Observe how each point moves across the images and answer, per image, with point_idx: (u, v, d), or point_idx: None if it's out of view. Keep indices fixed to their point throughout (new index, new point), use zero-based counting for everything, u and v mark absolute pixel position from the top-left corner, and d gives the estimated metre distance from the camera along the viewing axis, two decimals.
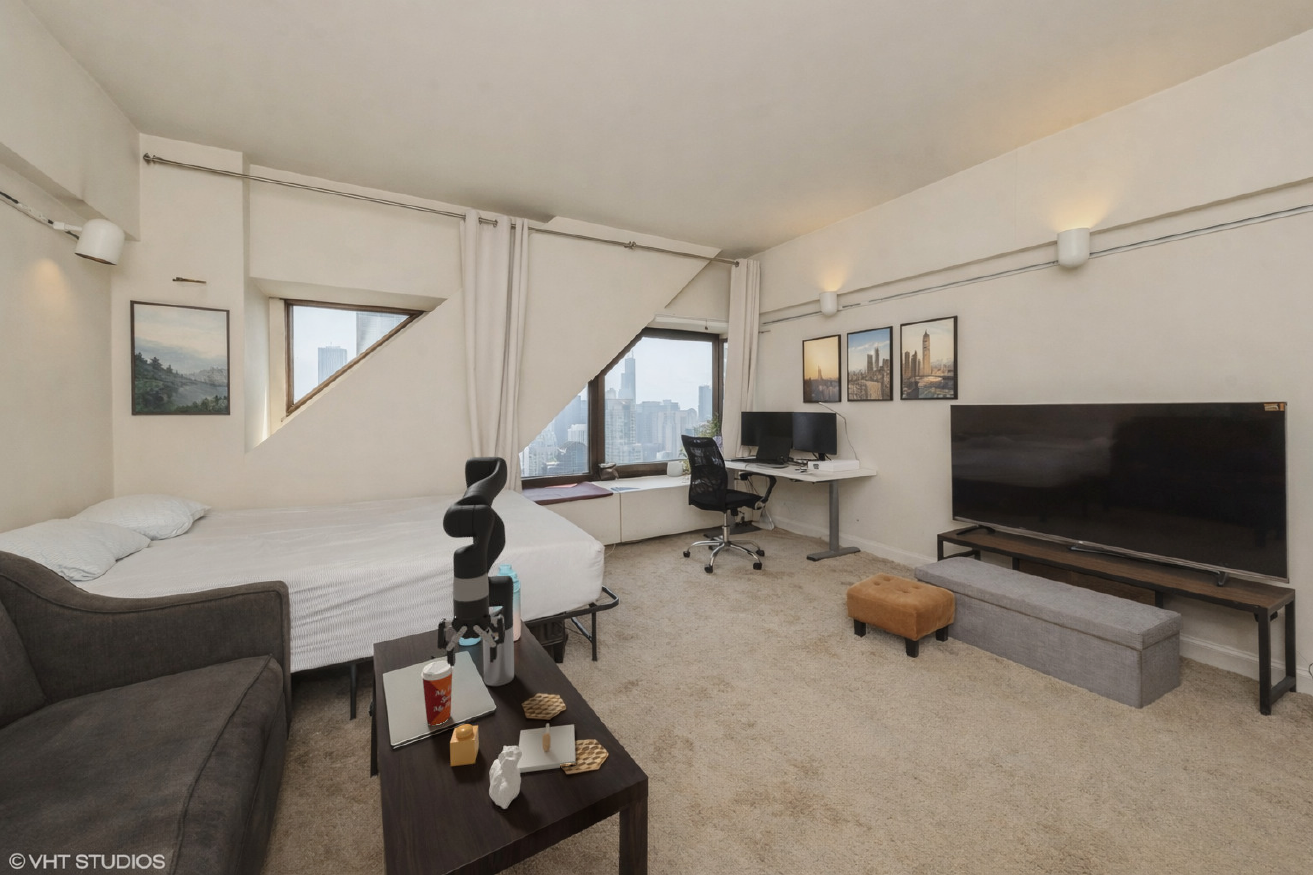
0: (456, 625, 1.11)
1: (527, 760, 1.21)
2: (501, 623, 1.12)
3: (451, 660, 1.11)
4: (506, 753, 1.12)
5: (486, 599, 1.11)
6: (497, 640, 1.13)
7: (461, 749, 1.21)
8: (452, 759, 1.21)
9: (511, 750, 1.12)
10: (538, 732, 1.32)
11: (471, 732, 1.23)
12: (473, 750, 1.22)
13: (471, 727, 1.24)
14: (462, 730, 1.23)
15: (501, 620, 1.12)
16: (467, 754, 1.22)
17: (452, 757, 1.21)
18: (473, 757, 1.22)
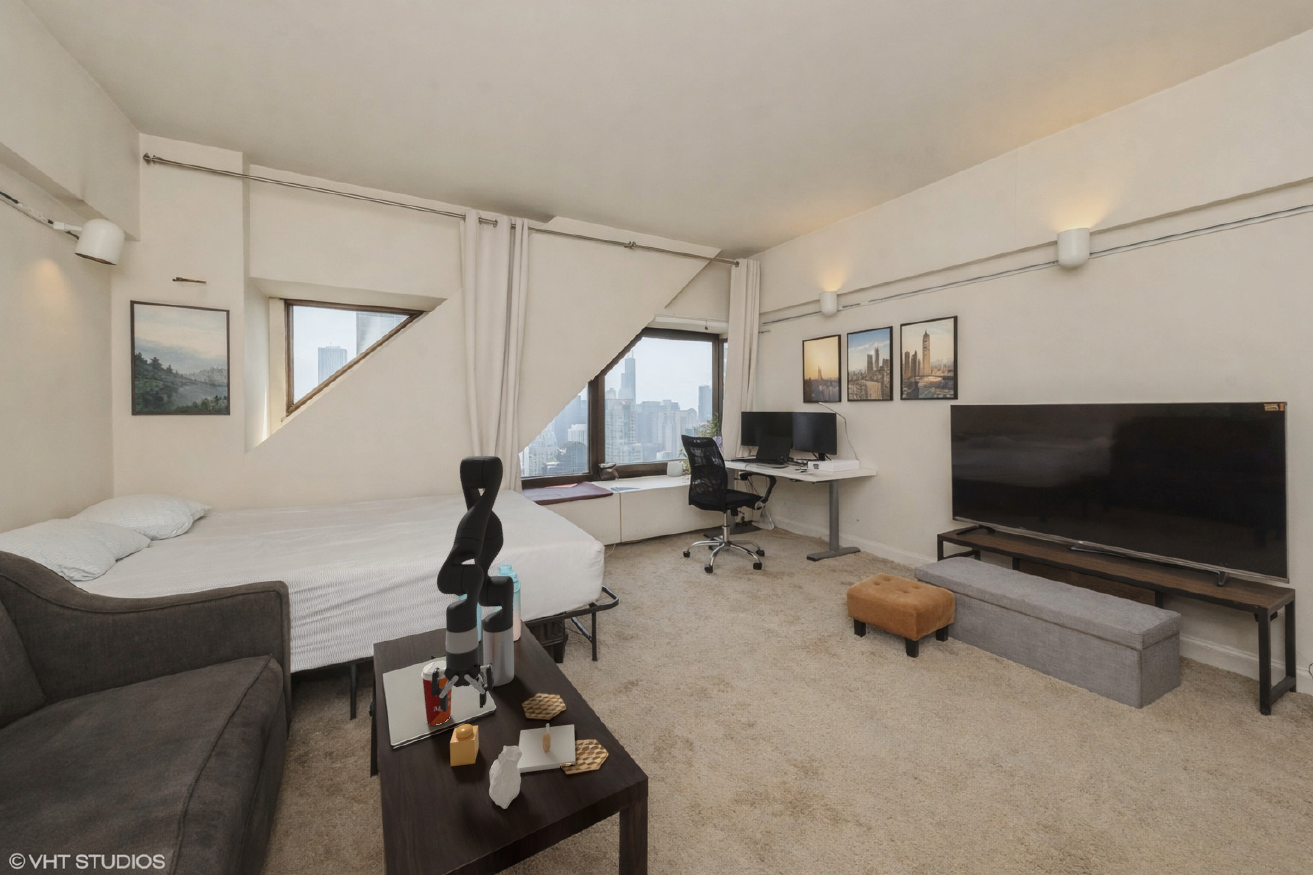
0: (448, 674, 1.21)
1: (527, 760, 1.21)
2: (490, 672, 1.23)
3: (444, 706, 1.21)
4: (506, 753, 1.12)
5: (476, 650, 1.22)
6: (486, 687, 1.23)
7: (461, 749, 1.21)
8: (452, 759, 1.21)
9: (511, 750, 1.12)
10: (538, 732, 1.32)
11: (471, 732, 1.23)
12: (473, 750, 1.22)
13: (471, 727, 1.24)
14: (462, 730, 1.23)
15: (490, 669, 1.23)
16: (467, 754, 1.22)
17: (452, 757, 1.21)
18: (473, 757, 1.22)
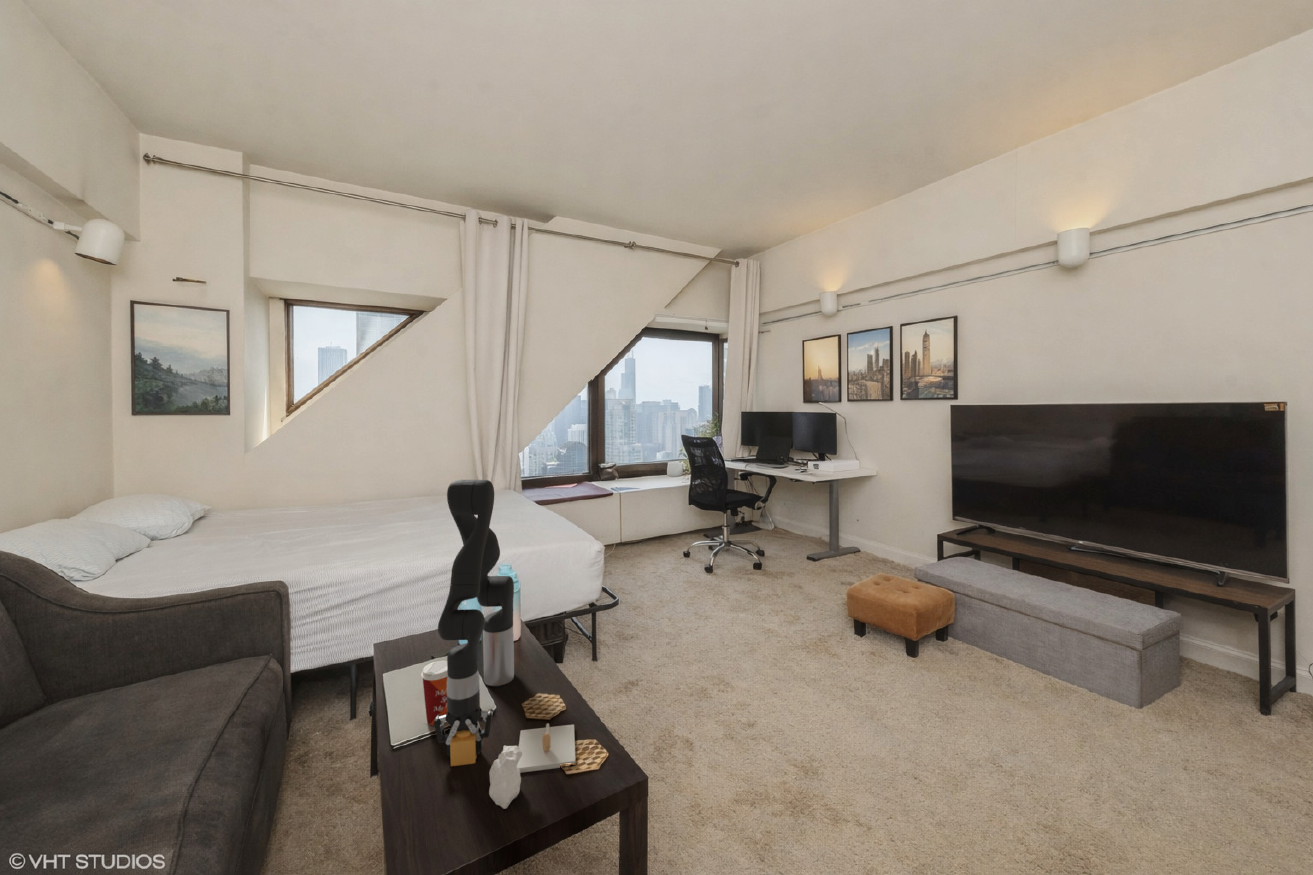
0: (450, 719, 1.22)
1: (527, 760, 1.21)
2: (490, 719, 1.24)
3: None
4: (506, 753, 1.12)
5: (477, 695, 1.22)
6: (482, 734, 1.24)
7: (461, 749, 1.21)
8: (452, 759, 1.21)
9: (511, 750, 1.12)
10: (538, 732, 1.32)
11: None
12: (473, 750, 1.22)
13: None
14: (462, 730, 1.23)
15: (490, 716, 1.24)
16: (467, 754, 1.22)
17: (452, 757, 1.21)
18: (473, 757, 1.22)
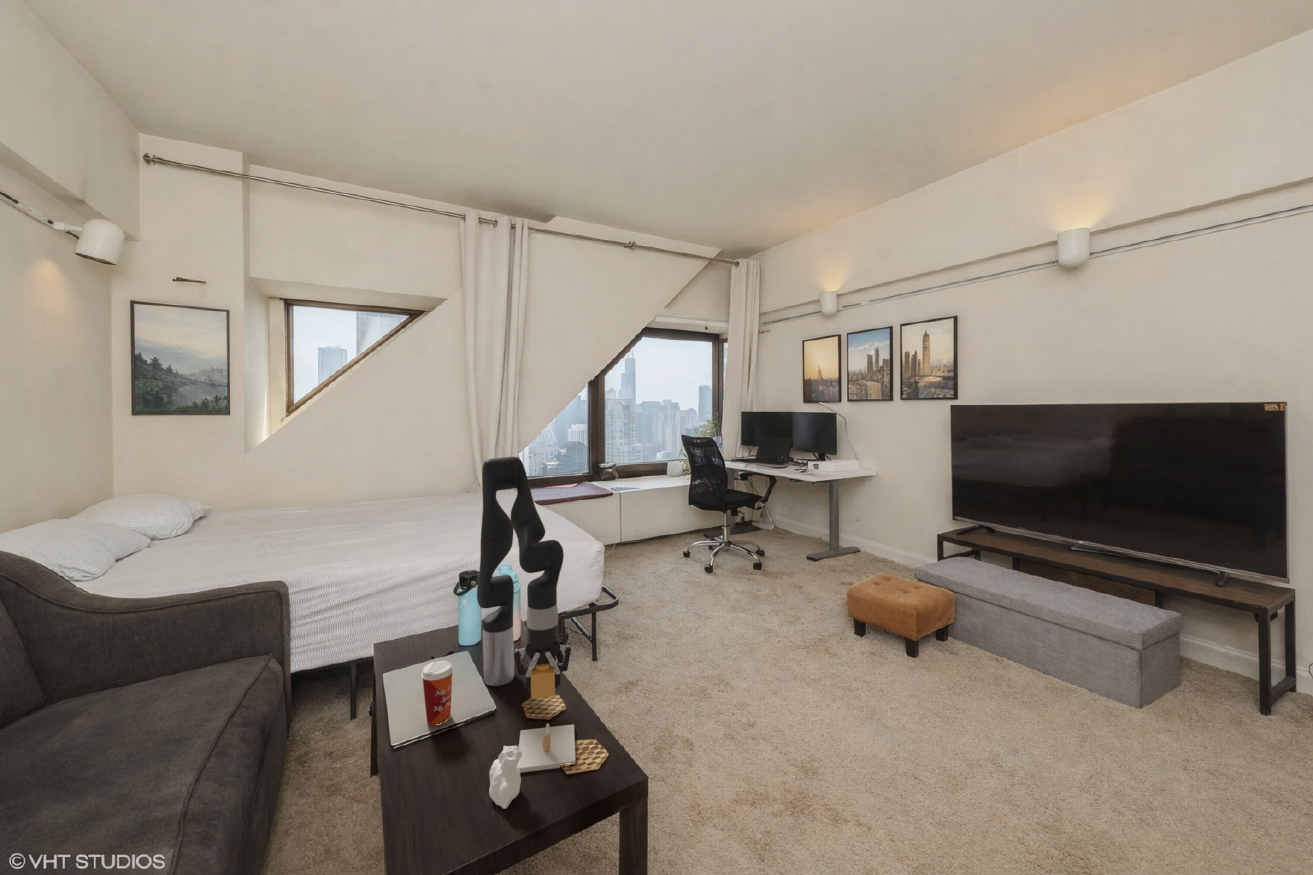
0: (529, 651, 1.21)
1: (527, 760, 1.21)
2: (569, 652, 1.23)
3: (530, 685, 1.22)
4: (506, 753, 1.12)
5: (556, 627, 1.22)
6: (561, 668, 1.23)
7: (541, 681, 1.20)
8: (533, 691, 1.20)
9: (511, 750, 1.12)
10: (538, 732, 1.32)
11: (550, 666, 1.23)
12: (553, 683, 1.21)
13: None
14: (541, 663, 1.22)
15: (569, 650, 1.23)
16: (547, 686, 1.21)
17: (533, 689, 1.20)
18: (553, 690, 1.21)
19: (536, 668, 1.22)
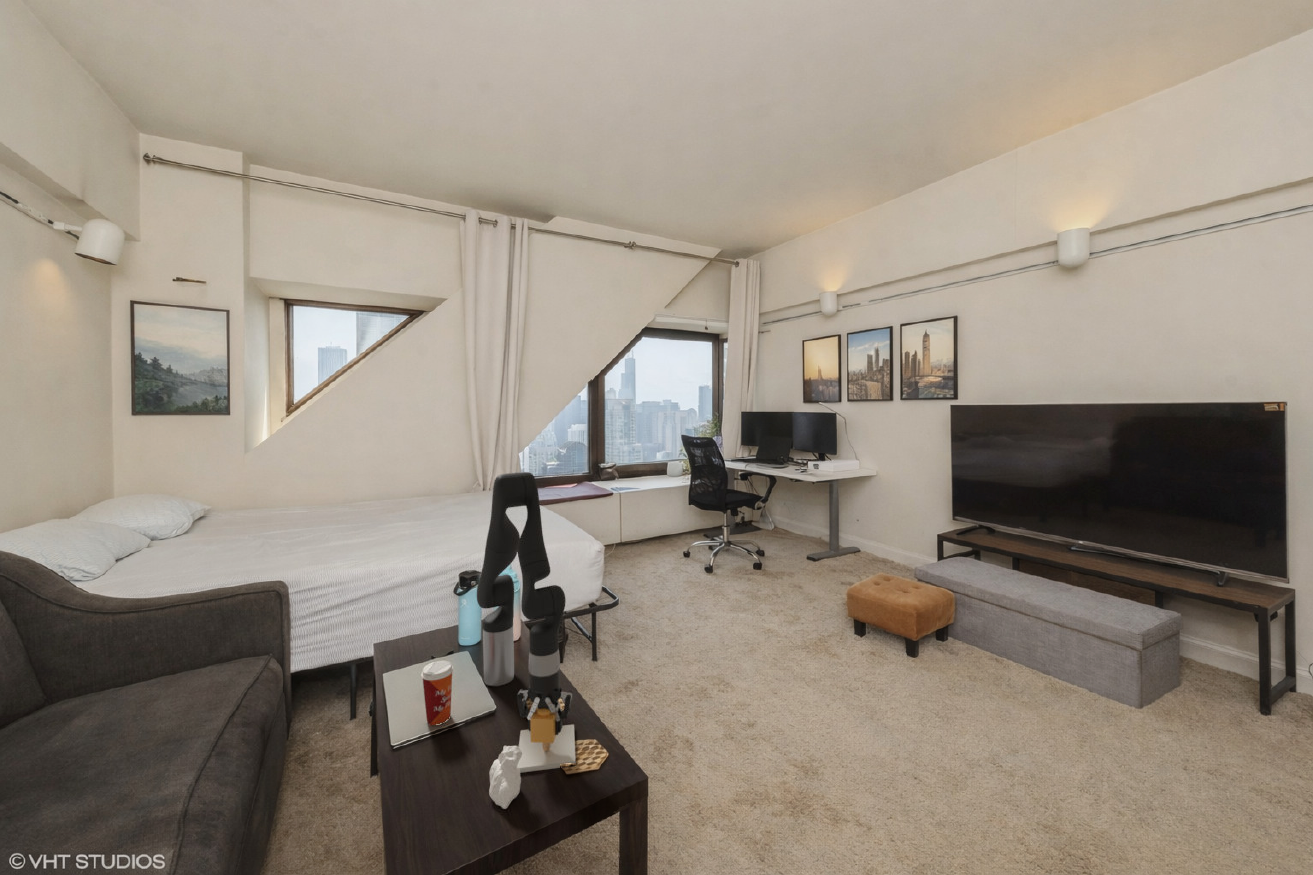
0: (531, 695, 1.23)
1: (527, 760, 1.21)
2: (568, 701, 1.22)
3: None
4: (506, 753, 1.12)
5: (556, 674, 1.22)
6: (561, 715, 1.23)
7: (540, 727, 1.21)
8: (532, 735, 1.22)
9: (511, 750, 1.12)
10: None
11: None
12: (552, 730, 1.21)
13: None
14: (543, 708, 1.23)
15: (569, 698, 1.22)
16: (546, 732, 1.21)
17: (532, 733, 1.22)
18: (552, 737, 1.21)
19: (537, 712, 1.23)
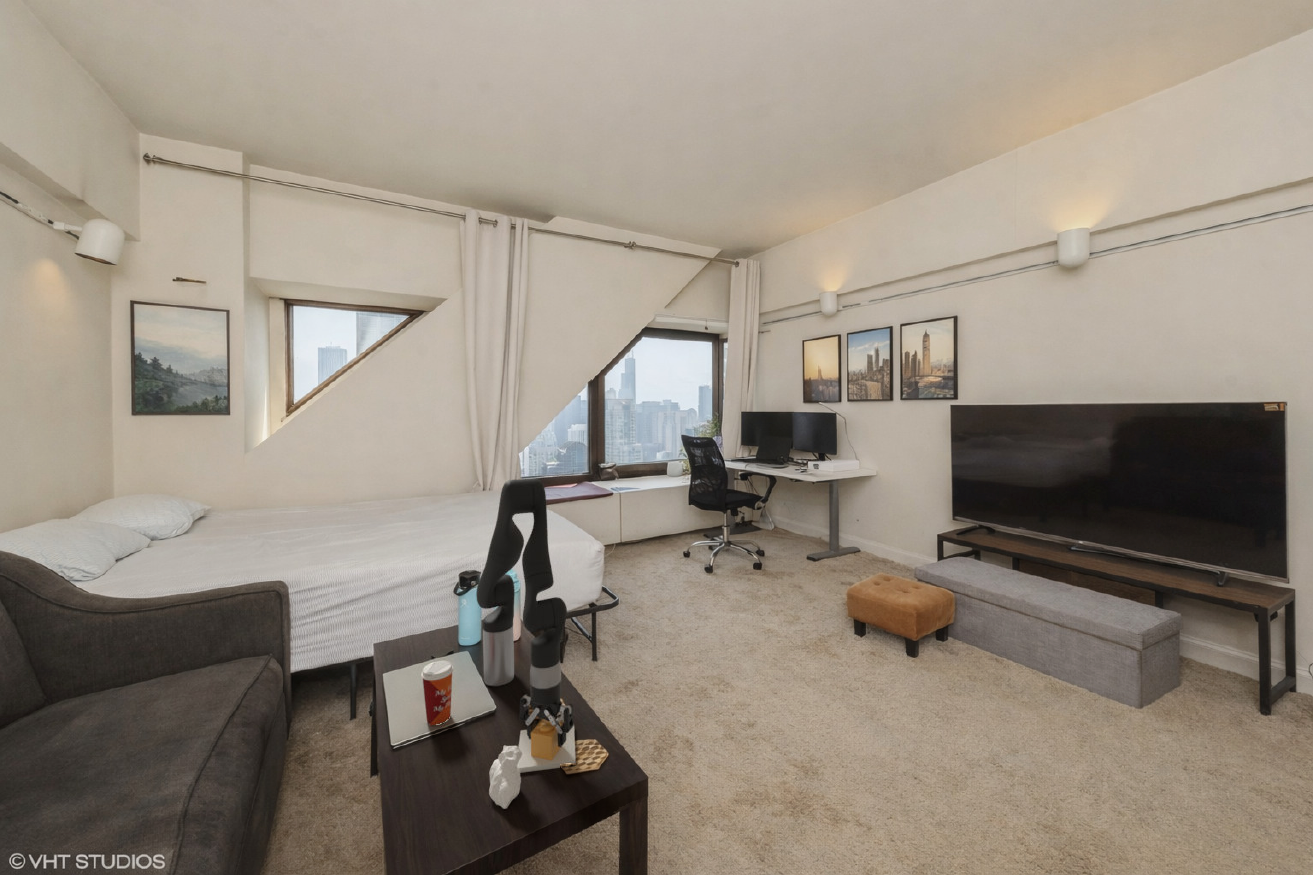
0: (533, 704, 1.24)
1: (527, 760, 1.21)
2: (566, 714, 1.21)
3: (529, 734, 1.25)
4: (506, 753, 1.12)
5: (555, 688, 1.21)
6: None
7: (540, 742, 1.22)
8: (532, 749, 1.23)
9: (511, 750, 1.12)
10: None
11: (551, 728, 1.23)
12: (550, 747, 1.21)
13: None
14: (544, 723, 1.24)
15: (567, 711, 1.21)
16: (544, 748, 1.22)
17: (532, 747, 1.23)
18: (550, 754, 1.21)
19: (538, 727, 1.24)
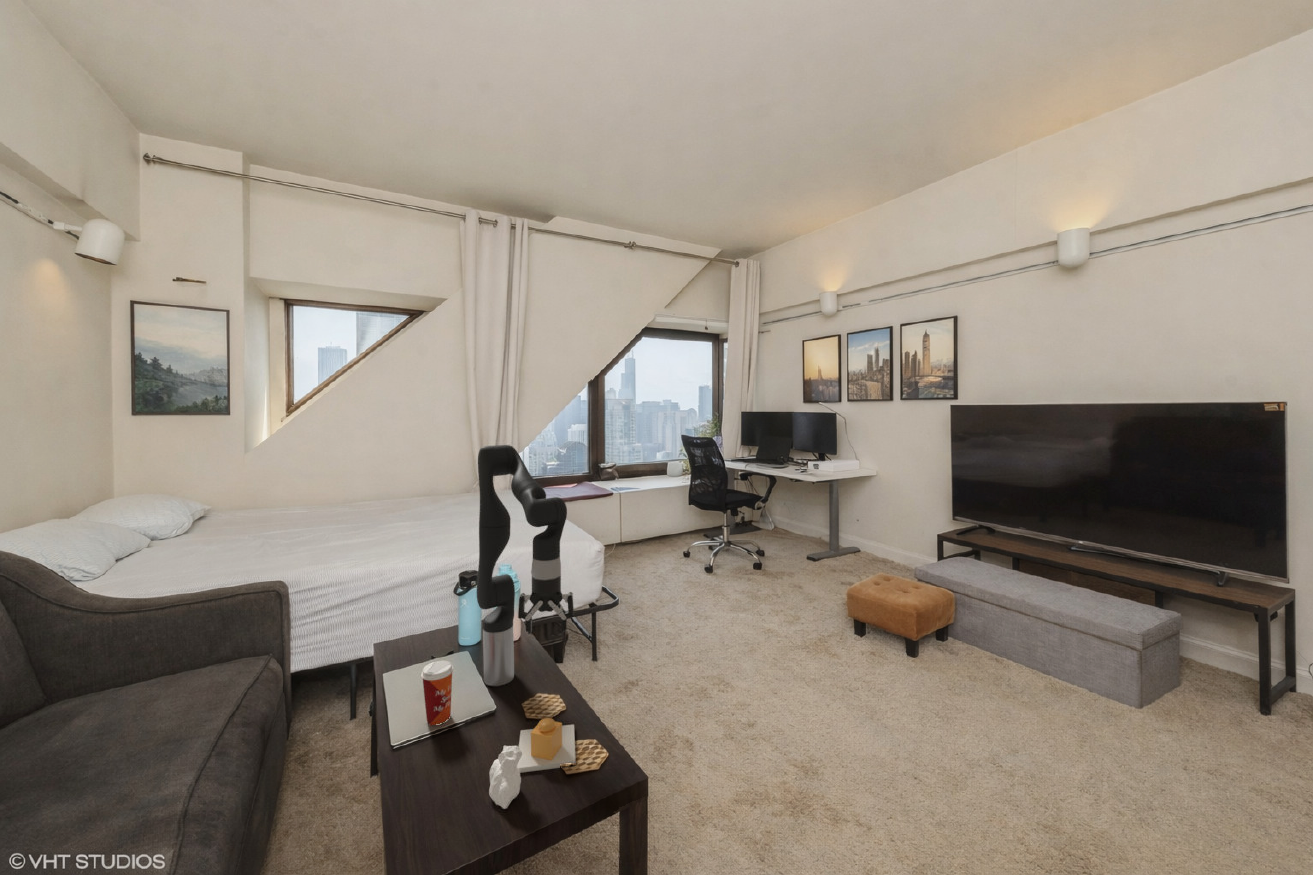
0: (534, 599, 1.31)
1: (527, 760, 1.21)
2: (571, 600, 1.31)
3: (529, 628, 1.31)
4: (506, 753, 1.12)
5: (559, 579, 1.30)
6: (567, 614, 1.32)
7: (540, 742, 1.22)
8: (532, 749, 1.23)
9: (511, 750, 1.12)
10: None
11: (551, 728, 1.23)
12: (550, 747, 1.21)
13: (553, 723, 1.24)
14: (544, 723, 1.24)
15: (571, 597, 1.31)
16: (544, 748, 1.22)
17: (532, 747, 1.23)
18: (550, 754, 1.21)
19: (538, 727, 1.24)
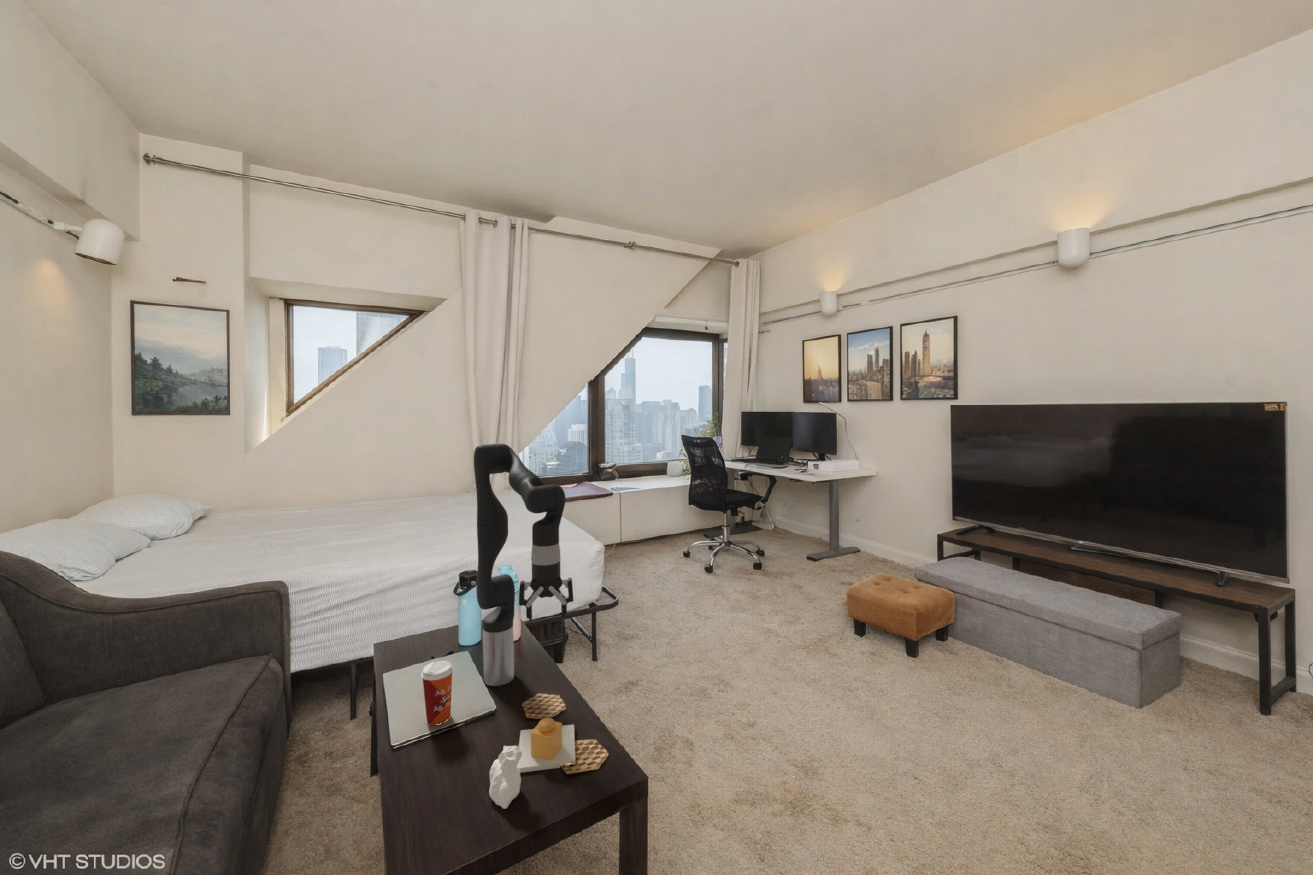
0: (534, 586, 1.32)
1: (527, 760, 1.21)
2: (571, 584, 1.34)
3: (530, 615, 1.33)
4: (506, 753, 1.12)
5: (559, 564, 1.33)
6: (567, 599, 1.35)
7: (540, 742, 1.22)
8: (532, 749, 1.23)
9: (511, 750, 1.12)
10: None
11: (551, 728, 1.23)
12: (550, 747, 1.21)
13: (553, 723, 1.24)
14: (544, 723, 1.24)
15: (571, 582, 1.34)
16: (544, 748, 1.22)
17: (532, 747, 1.23)
18: (550, 754, 1.21)
19: (538, 727, 1.24)
